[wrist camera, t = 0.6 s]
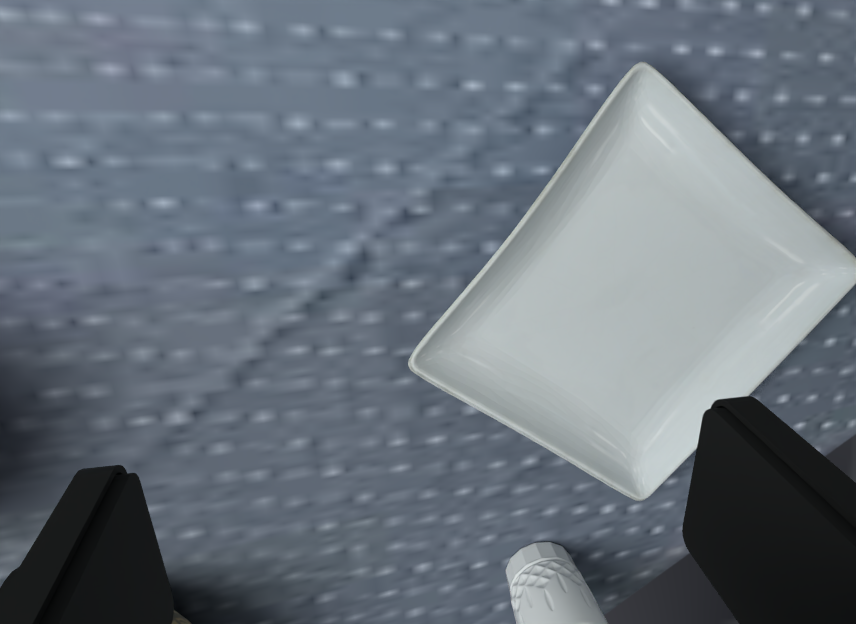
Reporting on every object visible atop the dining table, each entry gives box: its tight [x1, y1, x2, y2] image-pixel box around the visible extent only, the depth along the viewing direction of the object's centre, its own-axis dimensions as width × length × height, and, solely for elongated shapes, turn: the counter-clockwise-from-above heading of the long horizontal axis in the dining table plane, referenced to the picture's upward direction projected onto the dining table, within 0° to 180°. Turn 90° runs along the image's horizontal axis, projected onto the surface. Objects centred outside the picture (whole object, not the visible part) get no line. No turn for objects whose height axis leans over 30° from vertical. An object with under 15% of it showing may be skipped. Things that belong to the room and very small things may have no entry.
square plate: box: [408, 62, 856, 501], centre depth 49 cm, size 27×27×4 cm
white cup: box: [506, 542, 608, 624], centre depth 56 cm, size 8×8×10 cm
